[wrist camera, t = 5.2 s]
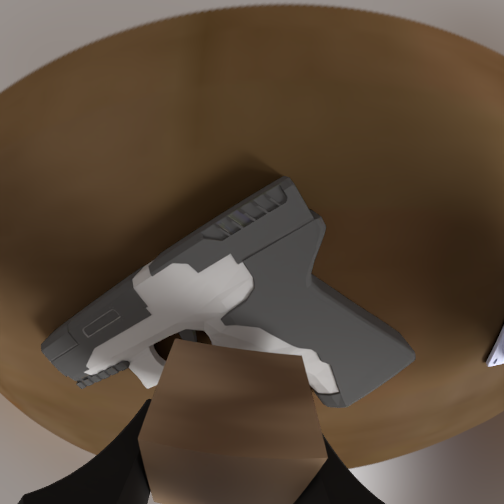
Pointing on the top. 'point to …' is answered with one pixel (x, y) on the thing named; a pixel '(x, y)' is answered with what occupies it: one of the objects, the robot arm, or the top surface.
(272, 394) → the walnut cube
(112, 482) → the robot arm
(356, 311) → the handgun
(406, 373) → the top surface
